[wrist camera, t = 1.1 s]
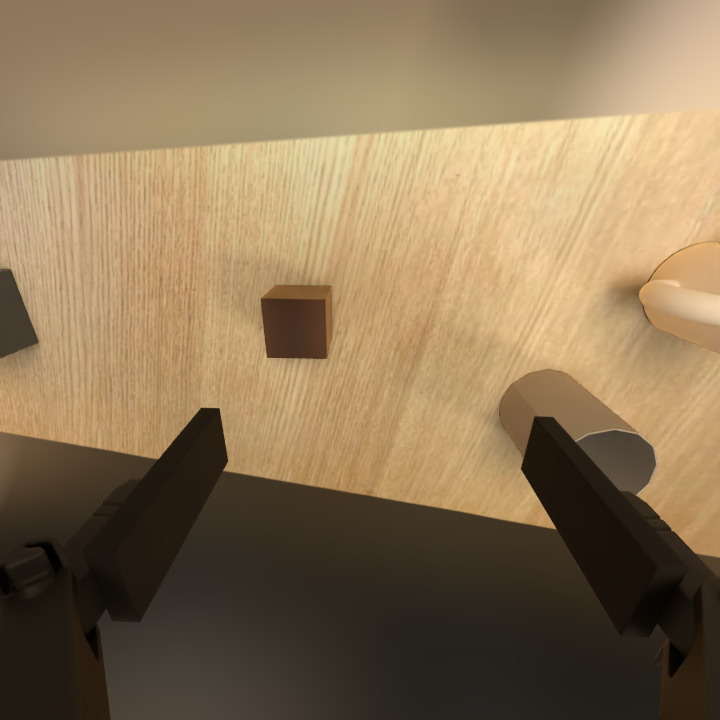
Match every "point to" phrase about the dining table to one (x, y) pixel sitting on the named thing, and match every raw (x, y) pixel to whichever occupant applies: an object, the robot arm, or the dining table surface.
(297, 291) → the walnut block
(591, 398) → the cup
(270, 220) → the dining table surface
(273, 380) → the dining table surface
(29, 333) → the slate block
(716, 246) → the mug
